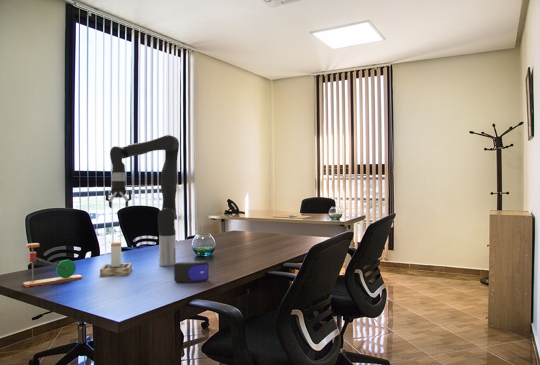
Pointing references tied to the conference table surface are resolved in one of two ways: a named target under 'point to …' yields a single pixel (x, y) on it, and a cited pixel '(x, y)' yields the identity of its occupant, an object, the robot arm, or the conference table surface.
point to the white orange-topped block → (115, 254)
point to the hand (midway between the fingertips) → (118, 207)
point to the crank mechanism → (63, 270)
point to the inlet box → (116, 269)
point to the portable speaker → (191, 272)
